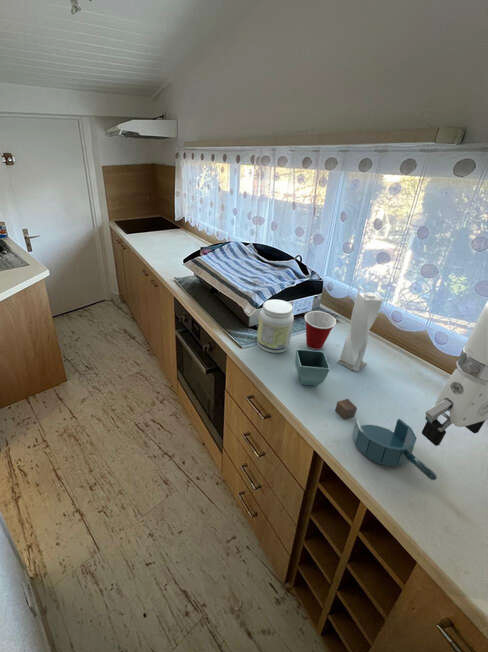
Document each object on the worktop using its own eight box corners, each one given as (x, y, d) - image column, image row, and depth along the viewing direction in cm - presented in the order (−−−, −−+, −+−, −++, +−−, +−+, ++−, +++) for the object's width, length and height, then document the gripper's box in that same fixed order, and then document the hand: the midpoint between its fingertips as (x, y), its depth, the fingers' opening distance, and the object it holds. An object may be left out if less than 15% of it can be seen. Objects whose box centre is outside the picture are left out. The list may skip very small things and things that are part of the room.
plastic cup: (299, 351, 113) (305, 323, 107) (299, 335, 122) (304, 309, 116) (331, 356, 110) (338, 328, 104) (328, 339, 119) (335, 313, 114)
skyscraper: (332, 360, 108) (352, 289, 95) (343, 351, 112) (363, 282, 99) (357, 372, 102) (381, 298, 89) (367, 362, 107) (392, 290, 93)
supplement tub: (265, 332, 125) (270, 295, 117) (294, 343, 117) (301, 304, 109) (250, 345, 116) (254, 306, 108) (279, 358, 109) (286, 318, 101)
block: (357, 407, 84) (354, 417, 86) (347, 398, 87) (345, 407, 89) (346, 410, 83) (343, 420, 85) (337, 401, 86) (334, 410, 88)
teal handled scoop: (452, 484, 67) (460, 466, 65) (407, 500, 64) (414, 482, 62) (380, 422, 84) (384, 406, 82) (342, 432, 81) (345, 416, 79)
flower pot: (324, 391, 95) (330, 369, 91) (295, 388, 96) (300, 366, 92) (318, 372, 103) (324, 351, 98) (291, 370, 104) (295, 348, 100)
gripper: (472, 391, 47) (432, 461, 55) (550, 369, 51) (502, 438, 59) (427, 361, 53) (397, 428, 61) (499, 344, 57) (462, 409, 65)
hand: (449, 433), depth 60 cm, fingers open, 9 cm apart
